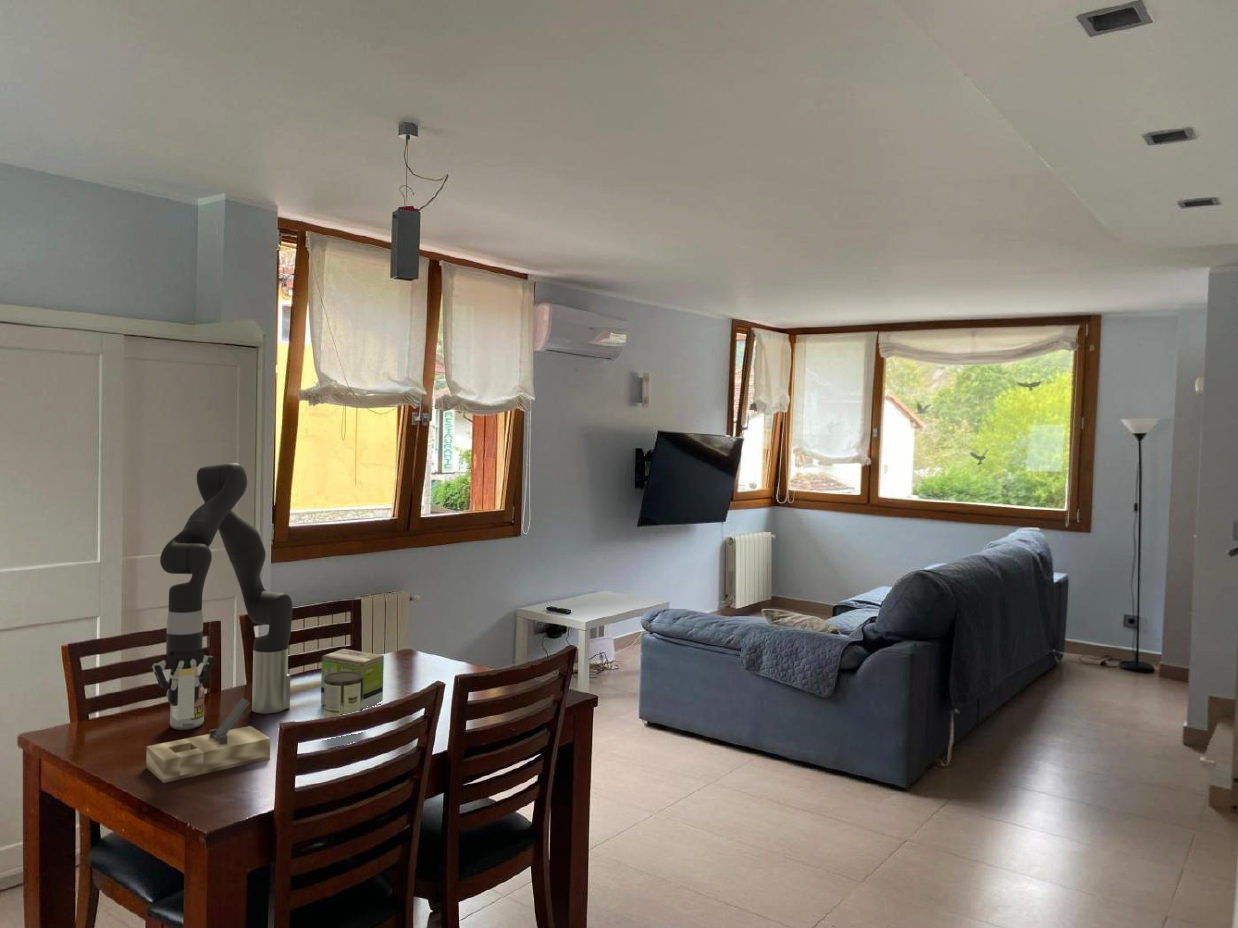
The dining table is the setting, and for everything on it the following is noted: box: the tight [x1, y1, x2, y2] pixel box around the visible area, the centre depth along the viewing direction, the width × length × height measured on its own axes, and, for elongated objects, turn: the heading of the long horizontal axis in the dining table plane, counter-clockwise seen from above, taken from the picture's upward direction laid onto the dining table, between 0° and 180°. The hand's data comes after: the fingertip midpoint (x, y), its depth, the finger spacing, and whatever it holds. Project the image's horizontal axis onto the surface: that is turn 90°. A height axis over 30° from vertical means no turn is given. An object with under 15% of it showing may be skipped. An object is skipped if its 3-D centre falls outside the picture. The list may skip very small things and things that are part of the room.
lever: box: [212, 697, 251, 741], centre depth 217 cm, size 11×4×1 cm
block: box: [145, 725, 271, 784], centre depth 214 cm, size 24×12×7 cm, turn 134°
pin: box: [172, 668, 195, 720], centre depth 209 cm, size 4×4×12 cm
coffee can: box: [323, 672, 364, 719], centre depth 242 cm, size 10×10×14 cm
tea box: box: [320, 648, 385, 709], centre depth 263 cm, size 15×10×15 cm, turn 68°
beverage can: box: [165, 683, 205, 731], centre depth 240 cm, size 9×8×12 cm
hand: (183, 703), depth 210 cm, fingers closed on pin, 3 cm apart
